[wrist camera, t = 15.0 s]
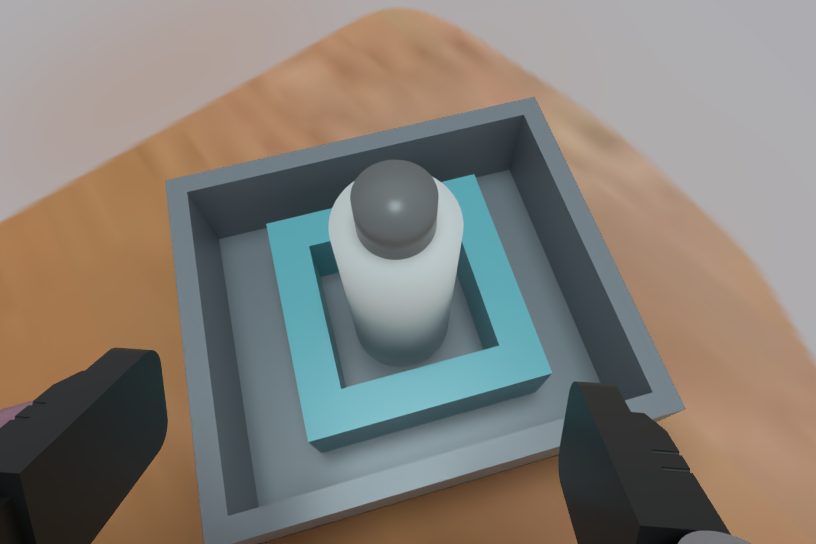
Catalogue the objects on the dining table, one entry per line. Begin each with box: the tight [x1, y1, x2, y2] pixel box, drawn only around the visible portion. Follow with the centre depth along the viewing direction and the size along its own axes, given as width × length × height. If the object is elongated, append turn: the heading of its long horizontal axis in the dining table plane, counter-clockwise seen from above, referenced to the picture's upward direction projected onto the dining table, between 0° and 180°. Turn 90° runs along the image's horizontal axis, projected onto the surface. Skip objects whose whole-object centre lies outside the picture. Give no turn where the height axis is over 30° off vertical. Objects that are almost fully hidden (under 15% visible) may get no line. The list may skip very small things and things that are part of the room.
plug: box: [329, 160, 464, 367], centre depth 20 cm, size 4×4×10 cm
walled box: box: [165, 97, 685, 544], centre depth 23 cm, size 16×14×5 cm
